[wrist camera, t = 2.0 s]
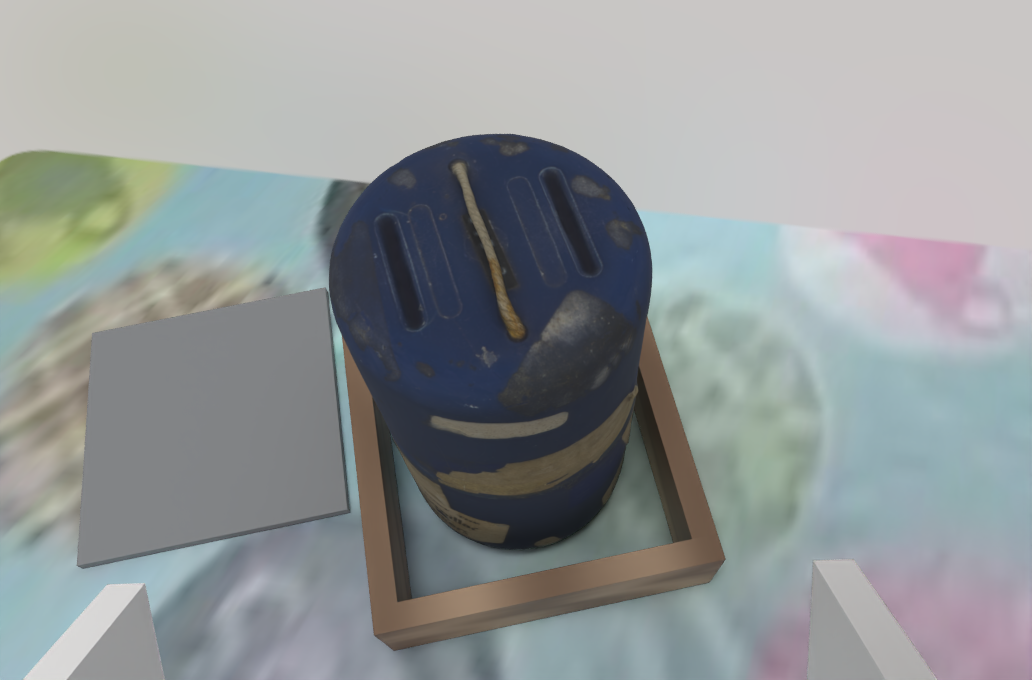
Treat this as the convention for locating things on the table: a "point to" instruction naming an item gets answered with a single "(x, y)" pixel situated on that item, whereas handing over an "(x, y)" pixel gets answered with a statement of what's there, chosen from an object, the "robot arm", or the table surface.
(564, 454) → the canister
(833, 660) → the robot arm
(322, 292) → the mat
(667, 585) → the holder
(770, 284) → the table surface
